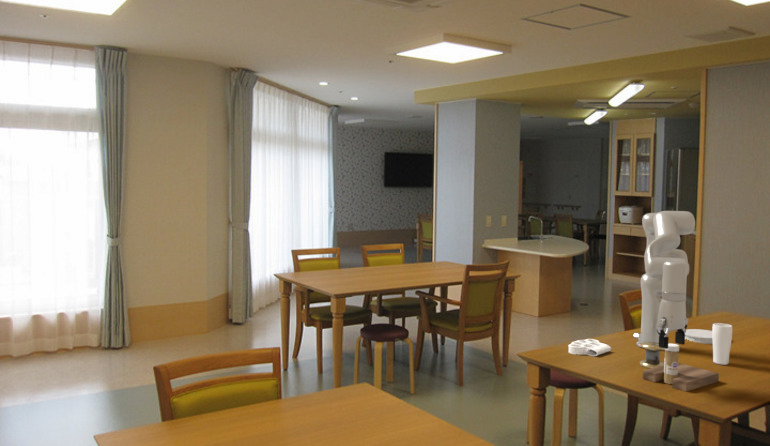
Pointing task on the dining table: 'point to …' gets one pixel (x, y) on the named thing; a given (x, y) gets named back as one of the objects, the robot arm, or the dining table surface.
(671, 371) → the sprinkles bottle
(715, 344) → the drinking glass
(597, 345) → the knuckle duster
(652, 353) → the bobbin
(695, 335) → the lid
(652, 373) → the notched board
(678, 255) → the robot arm
